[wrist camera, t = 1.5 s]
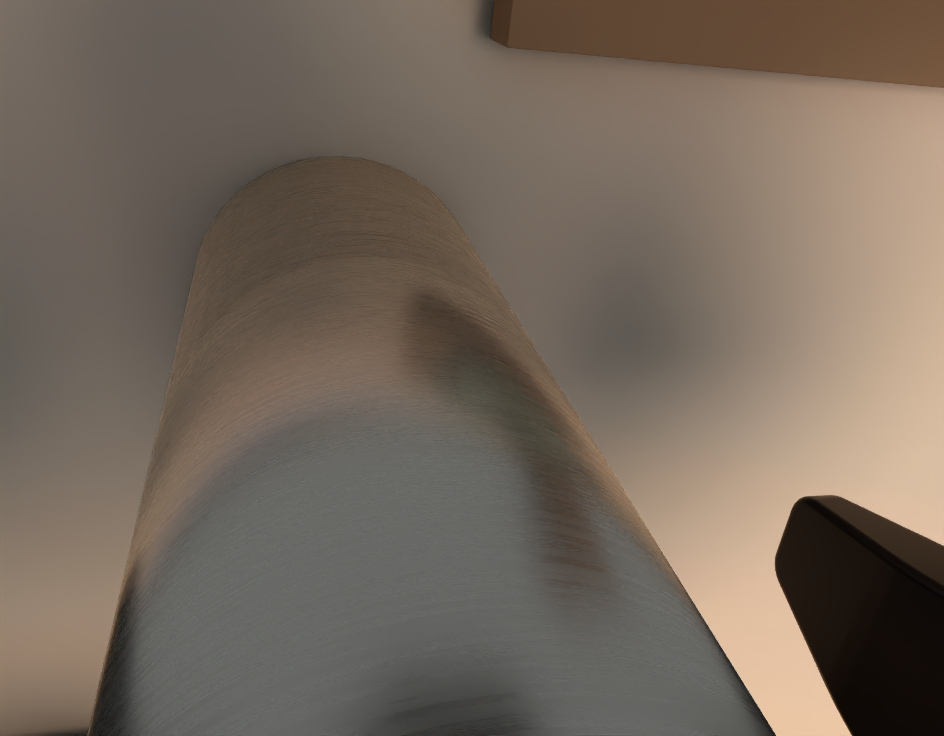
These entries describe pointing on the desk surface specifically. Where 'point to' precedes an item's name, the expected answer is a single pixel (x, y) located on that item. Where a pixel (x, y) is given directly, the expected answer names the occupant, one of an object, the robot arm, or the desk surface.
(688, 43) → the dock board
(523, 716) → the peg
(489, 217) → the desk surface
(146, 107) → the desk surface
